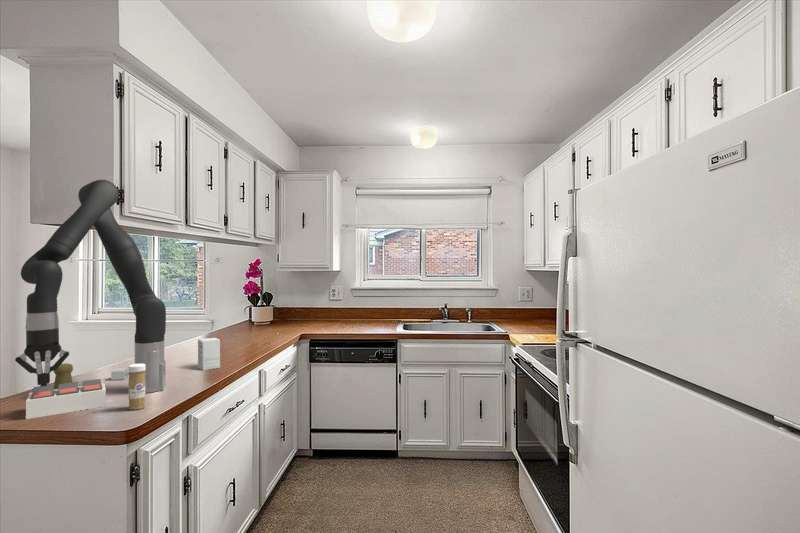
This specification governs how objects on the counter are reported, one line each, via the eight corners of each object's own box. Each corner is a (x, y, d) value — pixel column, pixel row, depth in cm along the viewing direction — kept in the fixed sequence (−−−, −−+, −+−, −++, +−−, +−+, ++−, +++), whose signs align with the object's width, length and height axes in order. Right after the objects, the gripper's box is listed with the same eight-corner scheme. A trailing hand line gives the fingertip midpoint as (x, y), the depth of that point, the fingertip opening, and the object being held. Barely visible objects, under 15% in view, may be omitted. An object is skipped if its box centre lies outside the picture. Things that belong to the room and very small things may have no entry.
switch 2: (100, 382, 142) (100, 378, 142) (101, 391, 137) (101, 387, 136) (82, 384, 139) (82, 380, 139) (82, 394, 134) (82, 390, 133)
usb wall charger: (115, 378, 172) (115, 368, 172) (135, 377, 173) (135, 367, 173) (111, 380, 168) (111, 370, 168) (131, 379, 170) (131, 369, 170)
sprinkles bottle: (133, 411, 131) (133, 366, 131) (125, 409, 133) (125, 365, 133) (148, 407, 135) (148, 363, 135) (140, 405, 137) (140, 362, 137)
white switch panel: (104, 398, 144) (104, 383, 144) (105, 406, 136) (105, 389, 136) (29, 409, 133) (29, 392, 133) (25, 419, 125) (25, 401, 125)
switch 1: (53, 387, 135) (53, 383, 135) (52, 399, 130) (52, 394, 129) (33, 390, 132) (33, 386, 132) (31, 402, 127) (31, 397, 126)
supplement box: (215, 365, 194) (215, 337, 194) (220, 368, 189) (220, 339, 189) (197, 367, 190) (197, 338, 190) (202, 370, 184) (202, 341, 184)
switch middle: (77, 385, 139) (77, 381, 138) (77, 395, 133) (77, 391, 133) (58, 387, 136) (58, 383, 135) (57, 398, 130) (57, 393, 130)
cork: (78, 393, 150) (78, 362, 150) (65, 398, 144) (65, 365, 144) (60, 394, 150) (60, 362, 150) (47, 399, 144) (47, 366, 144)
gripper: (70, 324, 136) (71, 379, 136) (14, 328, 128) (15, 387, 128) (70, 326, 130) (71, 384, 130) (11, 331, 122) (12, 392, 122)
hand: (43, 385), depth 129 cm, fingers closed
